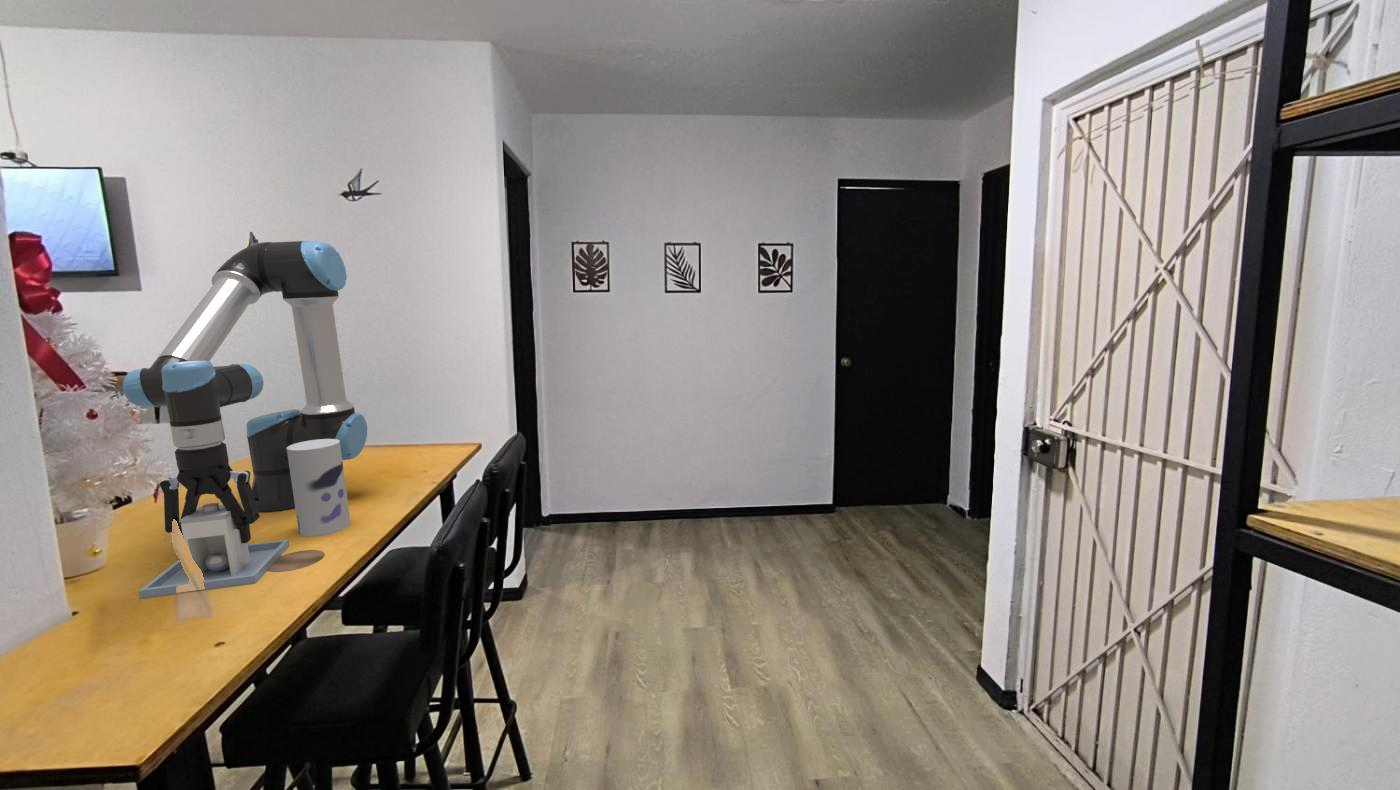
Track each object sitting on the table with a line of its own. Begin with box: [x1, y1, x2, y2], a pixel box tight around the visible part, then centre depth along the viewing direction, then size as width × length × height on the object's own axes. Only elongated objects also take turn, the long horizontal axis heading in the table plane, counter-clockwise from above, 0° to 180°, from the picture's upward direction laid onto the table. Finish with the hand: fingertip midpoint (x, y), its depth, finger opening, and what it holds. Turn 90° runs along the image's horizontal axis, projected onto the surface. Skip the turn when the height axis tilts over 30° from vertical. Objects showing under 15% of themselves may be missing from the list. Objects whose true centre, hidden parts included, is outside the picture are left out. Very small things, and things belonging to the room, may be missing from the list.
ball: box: [205, 550, 229, 572], centre depth 120 cm, size 4×4×4 cm
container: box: [287, 439, 351, 538], centre depth 140 cm, size 10×10×20 cm
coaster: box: [267, 549, 325, 573], centre depth 124 cm, size 10×10×1 cm
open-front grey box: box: [179, 502, 250, 575], centre depth 120 cm, size 7×7×13 cm
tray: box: [138, 539, 290, 600], centre depth 121 cm, size 18×18×2 cm
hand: (220, 561), depth 120 cm, fingers closed on open-front grey box, 7 cm apart
